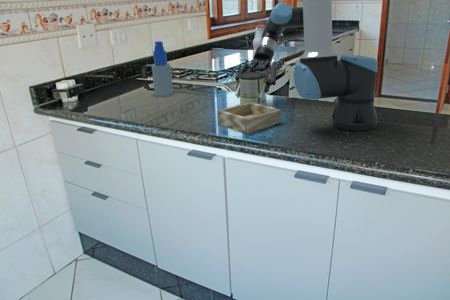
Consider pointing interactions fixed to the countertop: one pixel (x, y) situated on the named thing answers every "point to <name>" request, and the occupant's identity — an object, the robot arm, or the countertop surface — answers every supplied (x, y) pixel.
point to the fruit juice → (256, 42)
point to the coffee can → (251, 87)
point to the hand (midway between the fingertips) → (248, 97)
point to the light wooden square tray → (249, 117)
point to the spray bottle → (161, 72)
